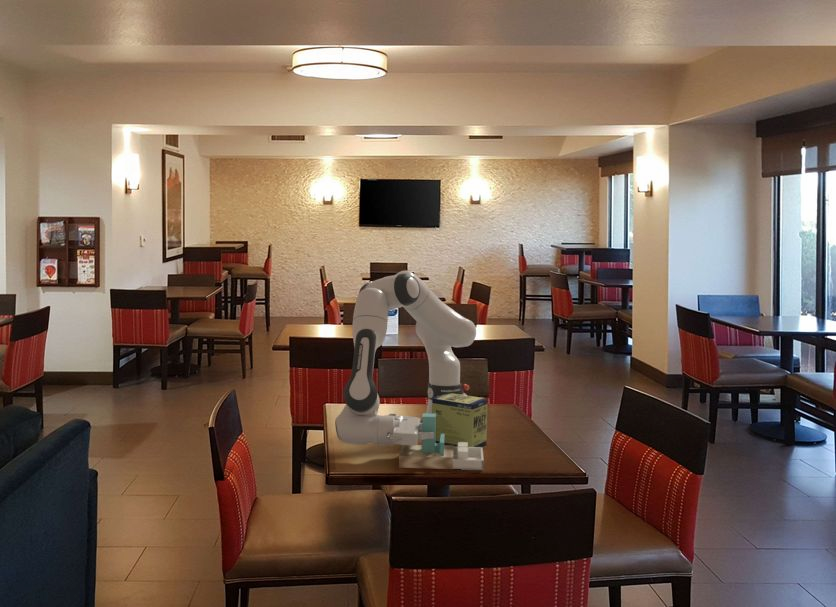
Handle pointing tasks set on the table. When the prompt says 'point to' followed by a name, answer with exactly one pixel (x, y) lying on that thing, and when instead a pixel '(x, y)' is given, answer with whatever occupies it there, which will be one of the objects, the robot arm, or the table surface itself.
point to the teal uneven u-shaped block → (430, 444)
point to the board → (425, 458)
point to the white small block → (462, 453)
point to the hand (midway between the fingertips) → (434, 431)
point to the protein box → (460, 419)
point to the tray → (469, 459)
